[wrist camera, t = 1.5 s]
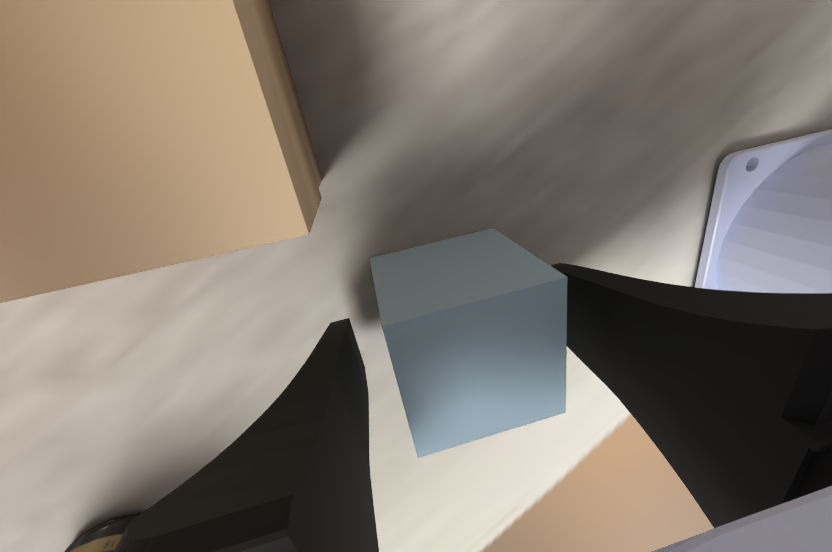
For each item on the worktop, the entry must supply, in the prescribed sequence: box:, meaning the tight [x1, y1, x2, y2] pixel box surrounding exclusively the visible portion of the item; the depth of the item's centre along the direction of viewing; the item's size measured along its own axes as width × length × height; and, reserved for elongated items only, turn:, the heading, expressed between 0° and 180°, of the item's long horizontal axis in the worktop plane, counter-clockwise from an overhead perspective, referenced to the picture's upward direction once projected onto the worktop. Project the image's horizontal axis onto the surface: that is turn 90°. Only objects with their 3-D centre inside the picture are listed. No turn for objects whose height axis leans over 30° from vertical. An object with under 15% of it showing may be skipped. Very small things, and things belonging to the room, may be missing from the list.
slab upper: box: [0, 0, 321, 303], centre depth 5 cm, size 6×6×3 cm
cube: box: [369, 228, 567, 458], centre depth 11 cm, size 4×4×4 cm
